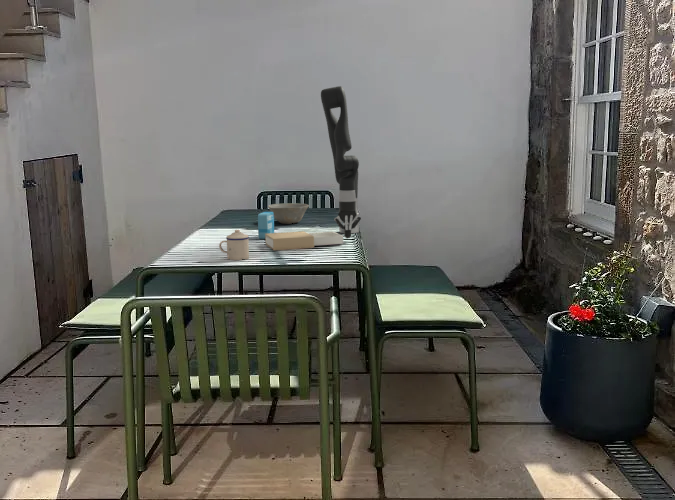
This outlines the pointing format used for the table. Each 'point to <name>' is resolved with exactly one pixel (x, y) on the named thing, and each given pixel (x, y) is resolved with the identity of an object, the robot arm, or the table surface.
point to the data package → (265, 224)
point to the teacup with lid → (236, 246)
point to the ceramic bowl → (288, 212)
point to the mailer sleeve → (291, 240)
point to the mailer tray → (319, 238)
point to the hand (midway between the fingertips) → (347, 237)
